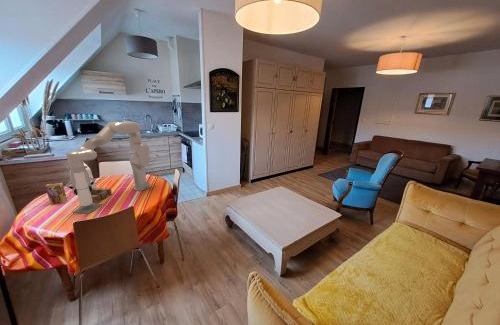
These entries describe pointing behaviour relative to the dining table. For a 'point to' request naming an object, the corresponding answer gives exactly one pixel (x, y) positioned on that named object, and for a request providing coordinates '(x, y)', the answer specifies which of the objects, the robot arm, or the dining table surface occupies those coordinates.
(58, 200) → the candy box
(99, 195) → the collar
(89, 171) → the milk
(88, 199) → the cylindrical container
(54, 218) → the dining table surface
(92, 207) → the mat
